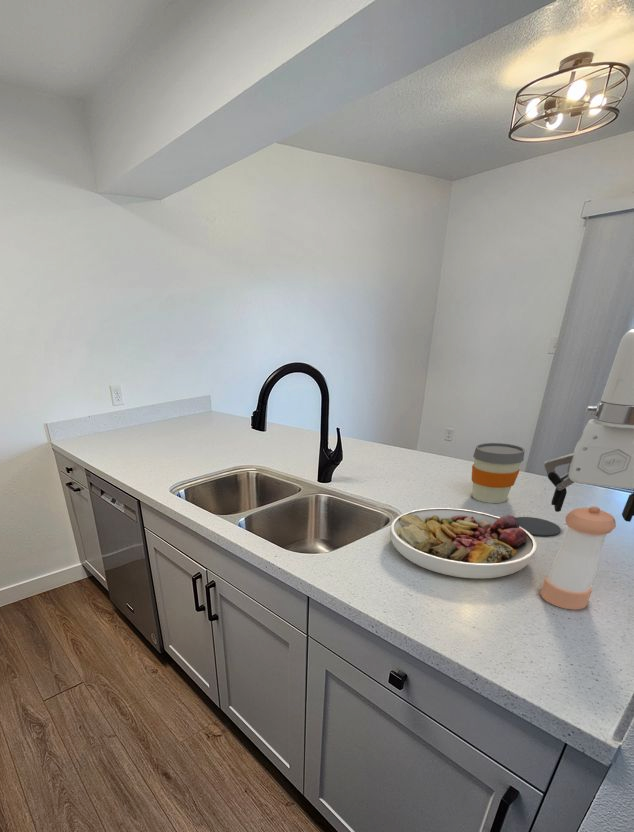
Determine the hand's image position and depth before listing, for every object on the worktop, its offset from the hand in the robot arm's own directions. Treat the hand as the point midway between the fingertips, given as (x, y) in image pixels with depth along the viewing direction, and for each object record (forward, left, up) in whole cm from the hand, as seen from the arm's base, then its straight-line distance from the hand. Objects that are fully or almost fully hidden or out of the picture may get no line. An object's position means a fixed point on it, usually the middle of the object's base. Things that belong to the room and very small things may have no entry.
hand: (590, 513), depth 76 cm
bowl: (+20, -12, -18) cm, 29 cm away
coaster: (+4, -34, -18) cm, 39 cm away
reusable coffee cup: (+15, -52, -18) cm, 57 cm away
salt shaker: (0, 0, -18) cm, 18 cm away
